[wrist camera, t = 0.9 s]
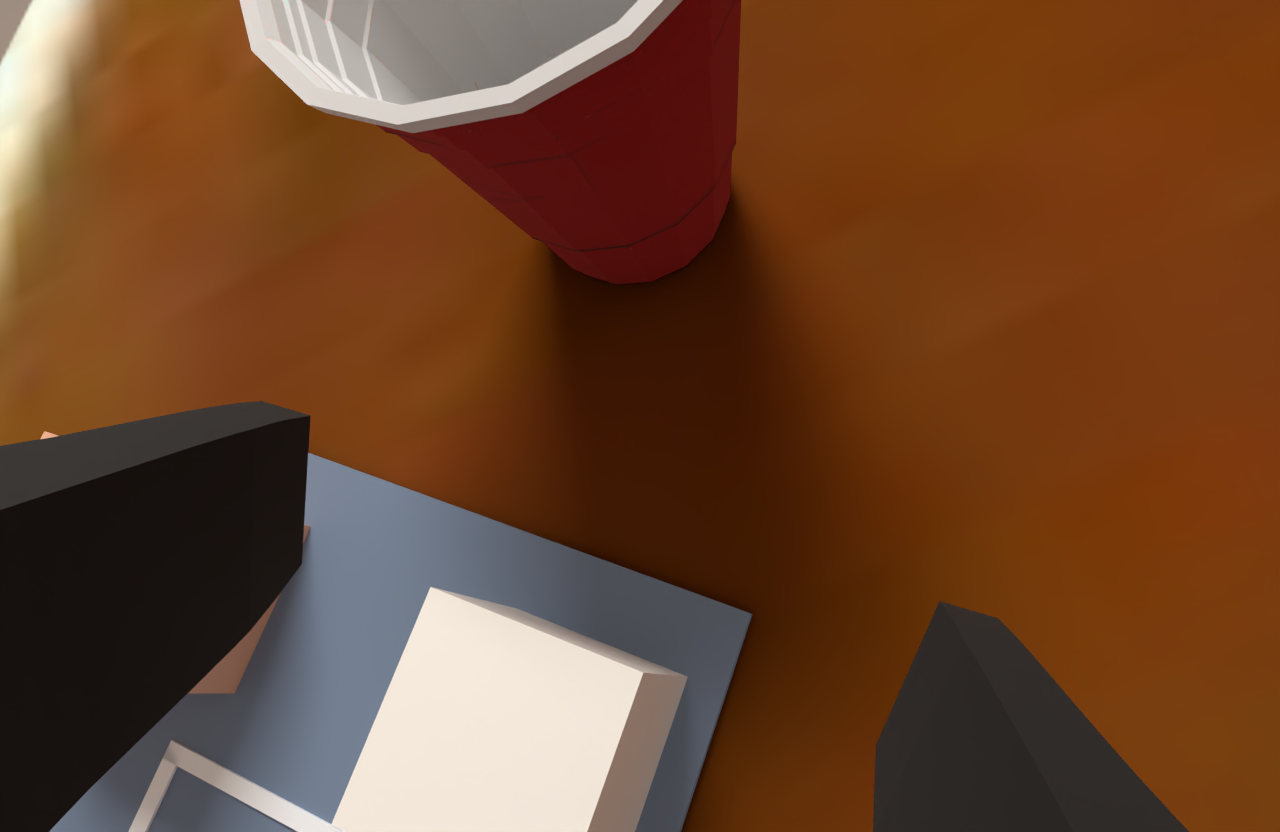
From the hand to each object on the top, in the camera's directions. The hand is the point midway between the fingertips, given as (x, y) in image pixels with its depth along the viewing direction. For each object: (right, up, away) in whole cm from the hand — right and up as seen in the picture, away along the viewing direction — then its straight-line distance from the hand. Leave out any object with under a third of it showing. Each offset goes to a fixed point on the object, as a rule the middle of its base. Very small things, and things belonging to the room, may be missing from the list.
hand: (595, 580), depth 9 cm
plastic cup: (0, +8, +17) cm, 19 cm away
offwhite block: (-1, -6, +12) cm, 14 cm away
